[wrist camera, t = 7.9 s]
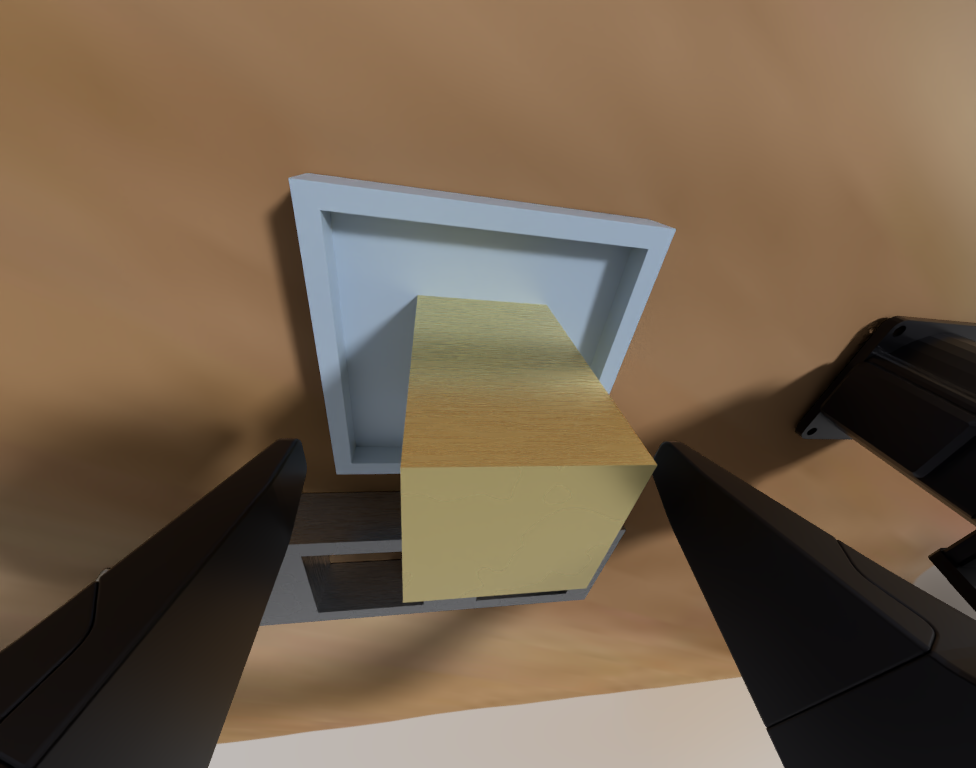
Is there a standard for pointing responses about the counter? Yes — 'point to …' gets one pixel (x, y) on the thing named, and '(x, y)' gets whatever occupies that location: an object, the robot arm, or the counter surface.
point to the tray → (451, 288)
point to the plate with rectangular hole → (363, 565)
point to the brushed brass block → (508, 455)
